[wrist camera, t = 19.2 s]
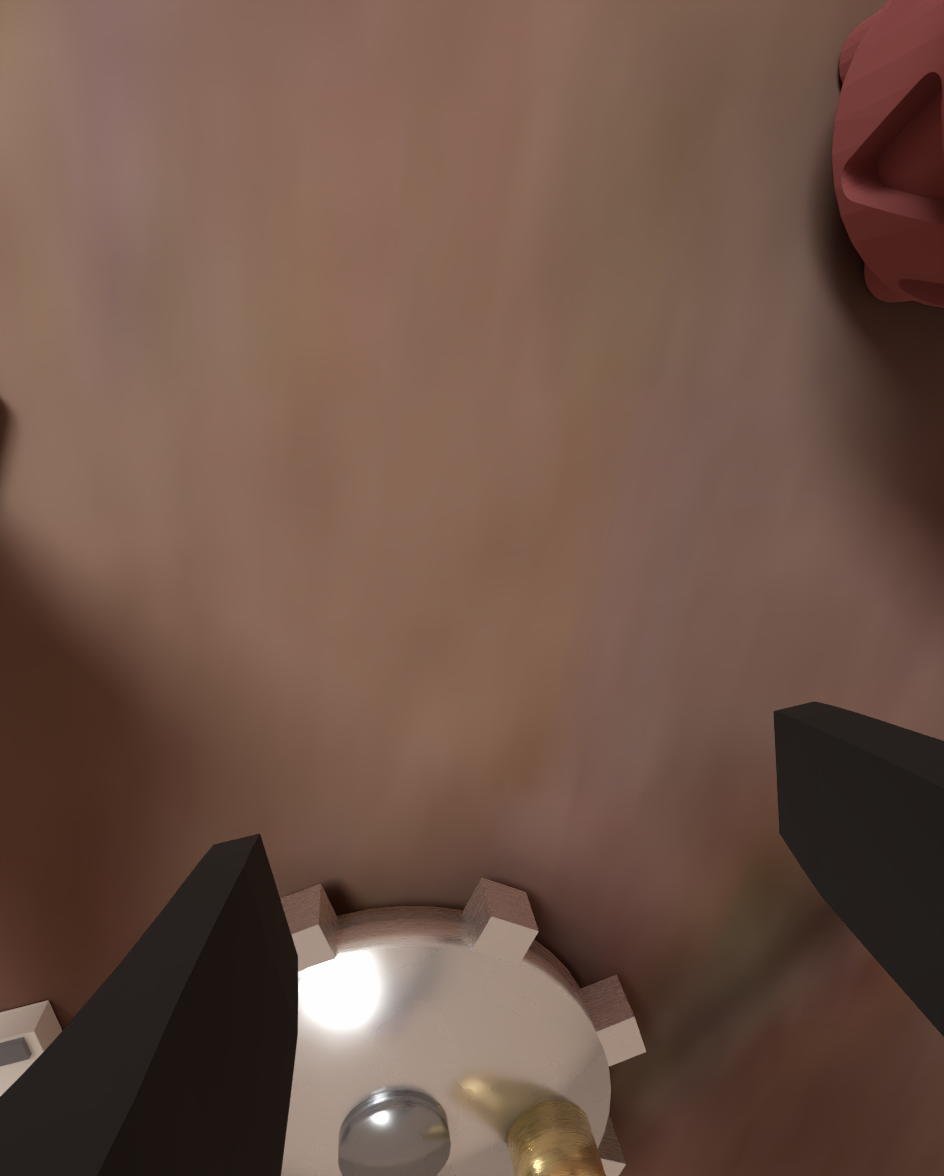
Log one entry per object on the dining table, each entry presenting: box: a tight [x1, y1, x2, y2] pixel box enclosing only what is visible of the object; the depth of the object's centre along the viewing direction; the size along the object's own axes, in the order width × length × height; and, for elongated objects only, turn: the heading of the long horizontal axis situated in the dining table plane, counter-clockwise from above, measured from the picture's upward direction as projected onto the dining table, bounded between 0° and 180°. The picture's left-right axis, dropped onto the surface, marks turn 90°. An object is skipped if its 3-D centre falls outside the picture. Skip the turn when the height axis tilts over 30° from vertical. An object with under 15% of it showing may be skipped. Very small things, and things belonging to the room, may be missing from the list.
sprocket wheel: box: [280, 878, 646, 1176], centre depth 20 cm, size 15×15×4 cm
